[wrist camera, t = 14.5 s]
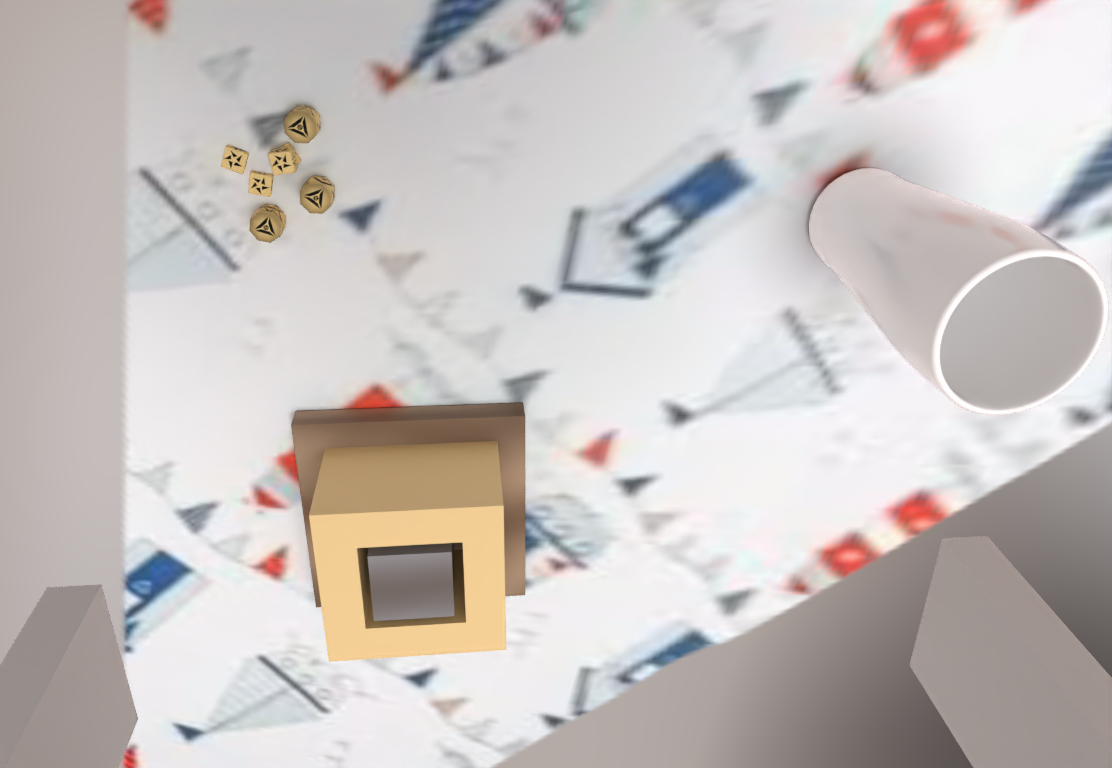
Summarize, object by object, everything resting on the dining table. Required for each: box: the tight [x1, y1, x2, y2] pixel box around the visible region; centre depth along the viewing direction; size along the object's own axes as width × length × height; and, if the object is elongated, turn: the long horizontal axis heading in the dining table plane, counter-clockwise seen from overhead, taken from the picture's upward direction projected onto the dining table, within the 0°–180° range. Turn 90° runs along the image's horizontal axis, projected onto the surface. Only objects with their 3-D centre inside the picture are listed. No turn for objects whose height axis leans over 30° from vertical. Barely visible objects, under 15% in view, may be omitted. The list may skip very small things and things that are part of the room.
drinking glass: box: [809, 168, 1109, 415], centre depth 39 cm, size 7×7×15 cm
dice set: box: [221, 105, 334, 243], centre depth 41 cm, size 5×5×2 cm
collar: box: [309, 441, 506, 662], centre depth 47 cm, size 9×9×6 cm
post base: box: [291, 403, 525, 621], centre depth 47 cm, size 12×12×8 cm
